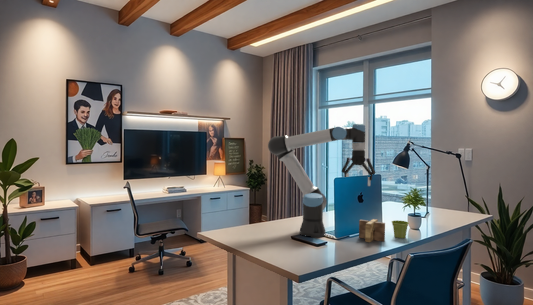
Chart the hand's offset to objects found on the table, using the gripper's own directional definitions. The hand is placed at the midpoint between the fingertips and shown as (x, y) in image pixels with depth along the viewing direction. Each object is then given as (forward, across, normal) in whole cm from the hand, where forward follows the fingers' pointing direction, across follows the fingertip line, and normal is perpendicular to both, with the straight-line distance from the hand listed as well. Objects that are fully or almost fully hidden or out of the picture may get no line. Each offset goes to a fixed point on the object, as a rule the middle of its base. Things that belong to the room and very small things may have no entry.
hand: (357, 185), depth 215 cm
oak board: (+29, +12, -10) cm, 33 cm away
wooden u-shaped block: (+29, +12, -10) cm, 33 cm away
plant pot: (+29, +24, +4) cm, 38 cm away
